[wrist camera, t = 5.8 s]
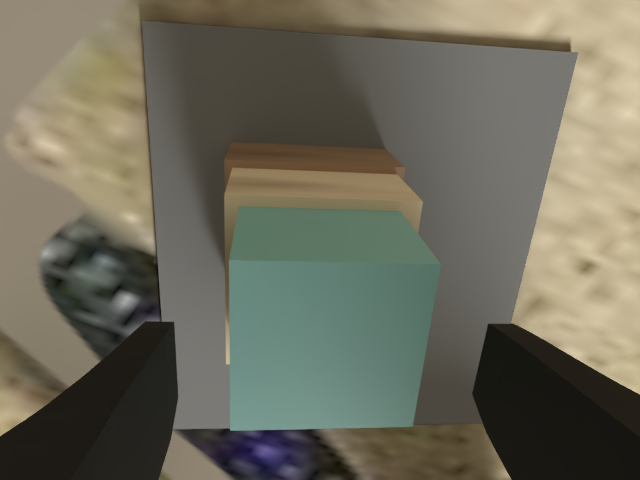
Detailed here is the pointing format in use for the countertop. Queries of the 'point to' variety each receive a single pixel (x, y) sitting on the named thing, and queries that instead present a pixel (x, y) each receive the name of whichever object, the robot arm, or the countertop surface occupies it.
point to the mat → (358, 132)
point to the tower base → (310, 159)
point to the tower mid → (312, 199)
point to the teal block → (327, 318)
